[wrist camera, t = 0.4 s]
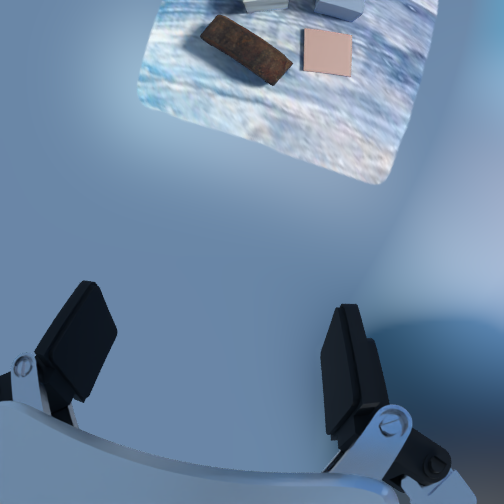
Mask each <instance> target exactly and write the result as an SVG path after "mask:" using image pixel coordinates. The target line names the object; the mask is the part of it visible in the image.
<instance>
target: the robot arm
mask: <svg viewBox="0 0 504 504" xmlns="http://www.w3.org/2000/svg"><path fill="white" fill-rule="evenodd" d="M116 336H117V328H116V326H115V323H114V321H113V319H112V317H111V314H110V312H109V310H108V307H107V305H106V302H105V300H104V298H103V295H102V292H101V290H100V288H99V286H97V284H96V283H95V282H91V281H82V282H81V283H80V284H79V285H78V287H77V288H76V289H75V291H74V292H73V294H72V295H71V296H70V298H69V299H68V301H67V302H66V303H65V305H64V306H63V308H62V309H61V310H60V312H59V313H58V315H57V316H56V318H55V319H54V321H53V322H52V324H51V325H50V327H49V328H48V330H47V332H46V333H45V335H44V336H43V338H42V340H41V341H40V343H39V344H38V346H37V348H36V349H35V351H34V352H35V354H36V356H35V357H34V356H33V355H32V354H31V353H27V352H26V353H22V354H20V355H18V356H17V357H16V358H15V360H14V361H13V363H12V366H11V371H10V372H8V373H6V374H3V375H1V376H0V504H399V501H398V498H397V495H396V493H395V491H394V490H393V489H392V487H393V488H395V489H397V490H398V491H400V492H403V493H406V494H407V495H408V496H409V498H410V499H411V501H410V503H411V504H477V499H476V497H475V495H474V493H473V492H472V491H471V489H470V488H469V487H468V485H467V484H466V483H465V482H464V480H463V479H462V477H461V476H460V475H459V473H458V472H457V471H456V470H452V469H451V457H450V455H449V453H448V452H447V451H446V450H445V449H444V448H442V447H441V446H439V445H437V444H436V443H435V442H433V441H431V440H430V439H429V438H427V437H425V436H424V435H422V434H421V433H420V432H418V431H417V430H415V429H413V428H412V419H411V416H410V414H409V413H408V411H407V410H405V409H404V408H403V407H401V406H398V405H390V404H389V399H388V394H387V390H386V385H385V381H384V376H383V372H382V368H381V364H380V360H379V356H378V352H377V348H376V345H375V342H374V340H373V339H372V338H366V335H365V331H364V327H363V323H362V319H361V316H360V312H359V309H358V305H357V304H341V306H340V308H336V309H335V311H334V314H333V318H332V321H331V324H330V327H329V330H328V333H327V335H326V338H325V341H324V344H323V347H322V350H321V357H320V358H321V370H322V380H323V393H324V407H325V423H326V433H327V435H331V440H338V448H339V449H340V451H339V452H338V453H337V454H336V455H335V457H334V458H333V459H332V460H331V461H330V462H329V464H328V465H327V466H326V467H325V468H324V469H323V470H322V472H321V473H277V472H257V471H243V470H234V469H225V468H217V467H210V466H204V465H198V464H192V463H187V462H182V461H178V460H173V459H169V458H164V457H160V456H156V455H152V454H149V453H145V452H141V451H138V450H135V449H131V448H128V447H125V446H122V445H119V444H116V443H113V442H111V441H108V440H105V439H102V438H100V437H97V436H95V435H92V434H89V433H87V432H85V431H82V430H80V429H79V427H78V424H77V420H76V417H75V414H74V411H73V407H72V403H71V401H72V399H73V398H74V399H75V400H78V401H80V402H83V403H84V401H85V399H86V398H87V397H88V396H89V395H90V393H91V391H92V388H93V386H94V384H95V381H96V379H97V377H98V375H99V372H100V370H101V368H102V366H103V364H104V362H105V359H106V357H107V355H108V353H109V351H110V349H111V346H112V345H113V343H114V341H115V338H116ZM381 480H383V481H385V482H386V483H387V484H386V483H384V482H382V481H381ZM388 484H389V485H391V486H392V487H390V486H389V485H388Z"/></svg>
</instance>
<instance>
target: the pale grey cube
mask: <svg viewBox="0 0 504 504" xmlns="http://www.w3.org/2000/svg"><path fill="white" fill-rule="evenodd" d="M243 2H244V5H245V8H246V10H247V13H253V12H261V11H269V10H280V9H288V3H289V0H243Z"/></svg>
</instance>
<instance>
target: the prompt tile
mask: <svg viewBox="0 0 504 504" xmlns="http://www.w3.org/2000/svg"><path fill="white" fill-rule="evenodd" d="M351 61H352V35H348V34H342V33H336V32H330V31H323V30H315V29H306V28H305V29H304V66H303V71H311V72H320V73H328V74H335V75H342V76H348V77H351Z"/></svg>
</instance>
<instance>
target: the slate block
mask: <svg viewBox="0 0 504 504" xmlns="http://www.w3.org/2000/svg"><path fill="white" fill-rule="evenodd" d="M364 3H365V0H316V2H315V8H314V12H316V13H320V14H324V15H328V16H332V17H336V18H339V19H343V20H346V21H349V22H353V21H354V20H356V19H357V18H358V17H359V16H361V15H362V14H363V10H364Z"/></svg>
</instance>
